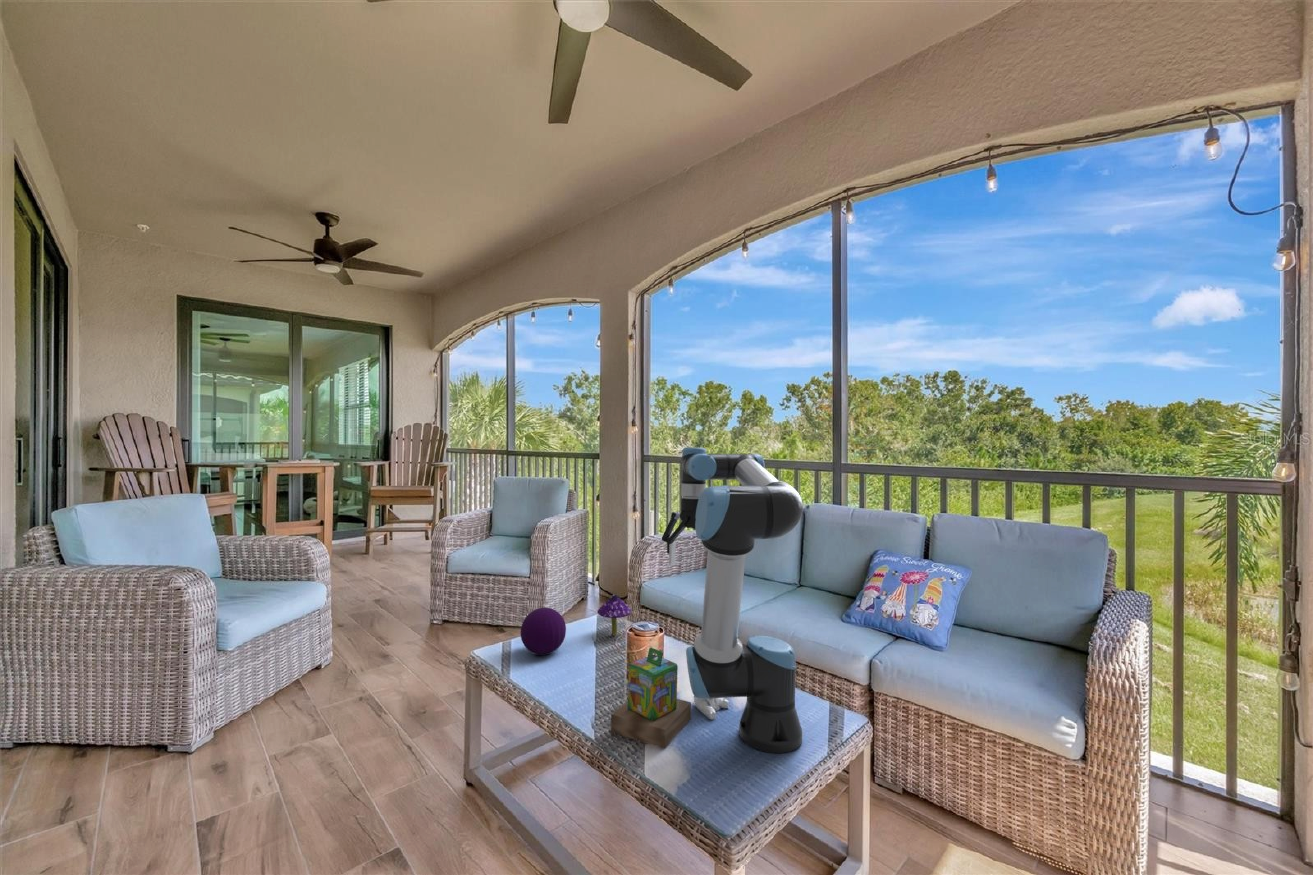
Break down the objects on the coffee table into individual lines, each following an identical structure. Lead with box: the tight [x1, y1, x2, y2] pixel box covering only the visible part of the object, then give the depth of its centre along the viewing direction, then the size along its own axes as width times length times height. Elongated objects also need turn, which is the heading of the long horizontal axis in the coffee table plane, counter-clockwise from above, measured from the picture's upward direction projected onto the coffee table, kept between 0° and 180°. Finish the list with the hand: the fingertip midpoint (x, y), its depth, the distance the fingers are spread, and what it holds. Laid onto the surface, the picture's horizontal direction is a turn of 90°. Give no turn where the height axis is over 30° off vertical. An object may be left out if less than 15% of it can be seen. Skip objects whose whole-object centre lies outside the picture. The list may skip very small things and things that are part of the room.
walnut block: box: [610, 698, 692, 750], centre depth 138 cm, size 15×15×5 cm
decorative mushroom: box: [597, 594, 632, 637], centre depth 199 cm, size 12×12×15 cm
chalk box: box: [627, 647, 679, 721], centre depth 137 cm, size 9×9×15 cm
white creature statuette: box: [693, 695, 730, 720], centre depth 146 cm, size 10×9×12 cm
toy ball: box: [520, 607, 567, 656], centre depth 182 cm, size 15×15×15 cm
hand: (691, 567), depth 166 cm, fingers open, 13 cm apart
